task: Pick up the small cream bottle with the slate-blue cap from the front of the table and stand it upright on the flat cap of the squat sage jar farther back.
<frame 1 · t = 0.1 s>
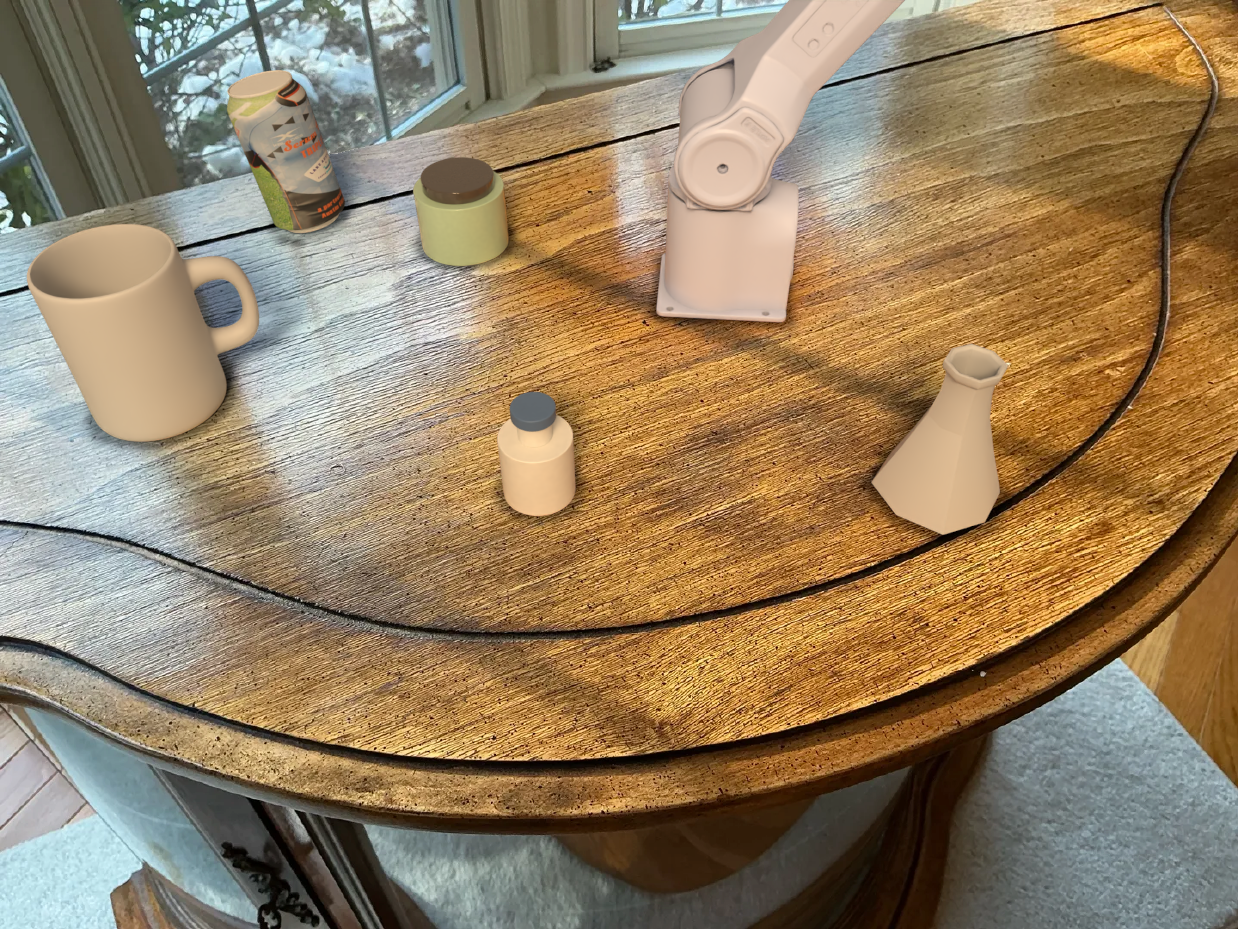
flask: (933, 492, 60), on the cabinet
beverage can: (305, 223, 82), on the cabinet
mug: (189, 394, 67), on the cabinet
sage jar: (465, 242, 80), on the cabinet
cream bottle: (539, 489, 60), on the cabinet
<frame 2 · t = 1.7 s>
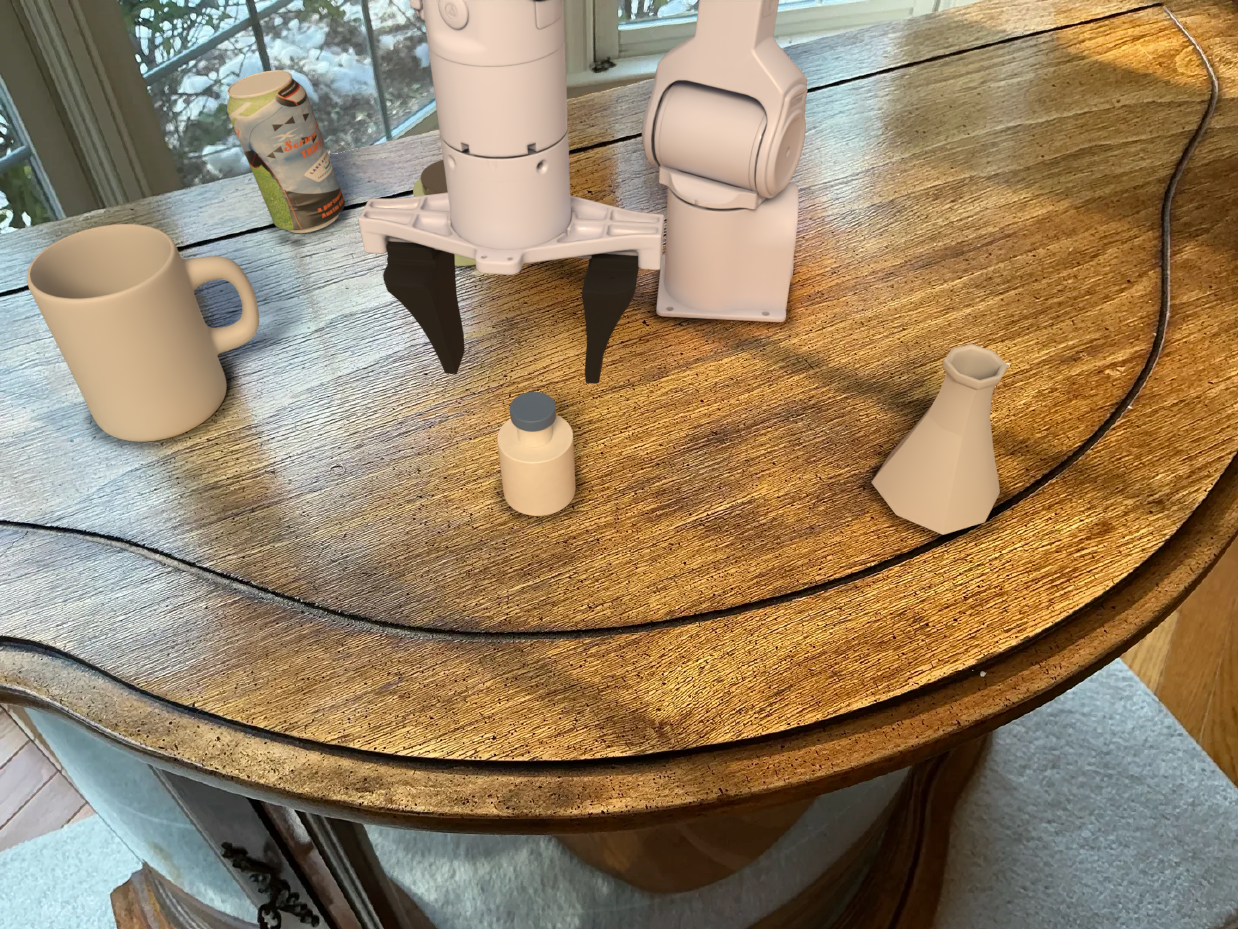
hand: (524, 367, 53), 10 cm above the cabinet, tool pointing down, fingers open, 7 cm apart
nothing on the cabinet moved.
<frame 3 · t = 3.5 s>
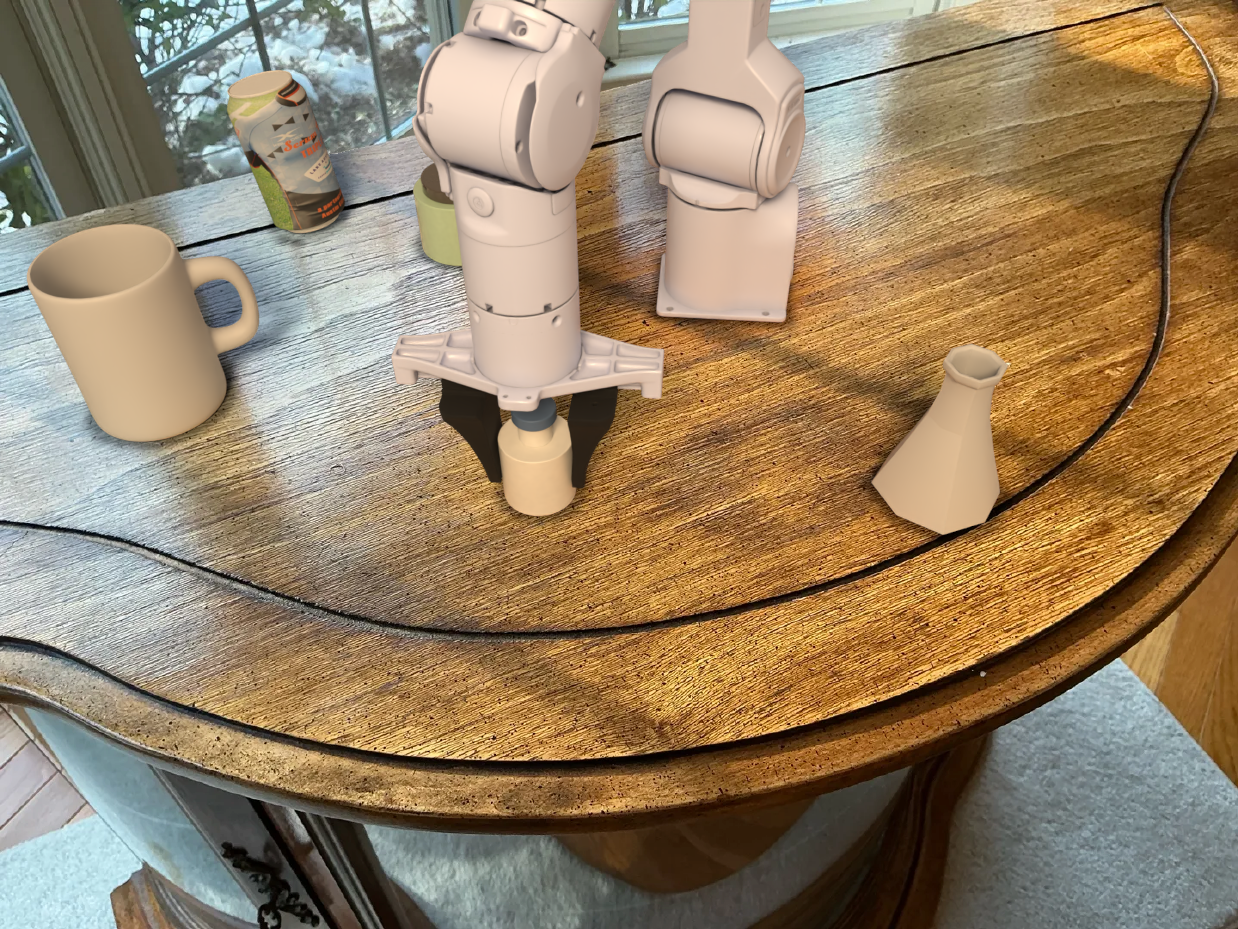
hand: (538, 473, 59), 1 cm above the cabinet, tool pointing down, fingers closed on cream bottle, 4 cm apart
cream bottle: (540, 489, 60), on the cabinet, touching gripper
everything else where it was.
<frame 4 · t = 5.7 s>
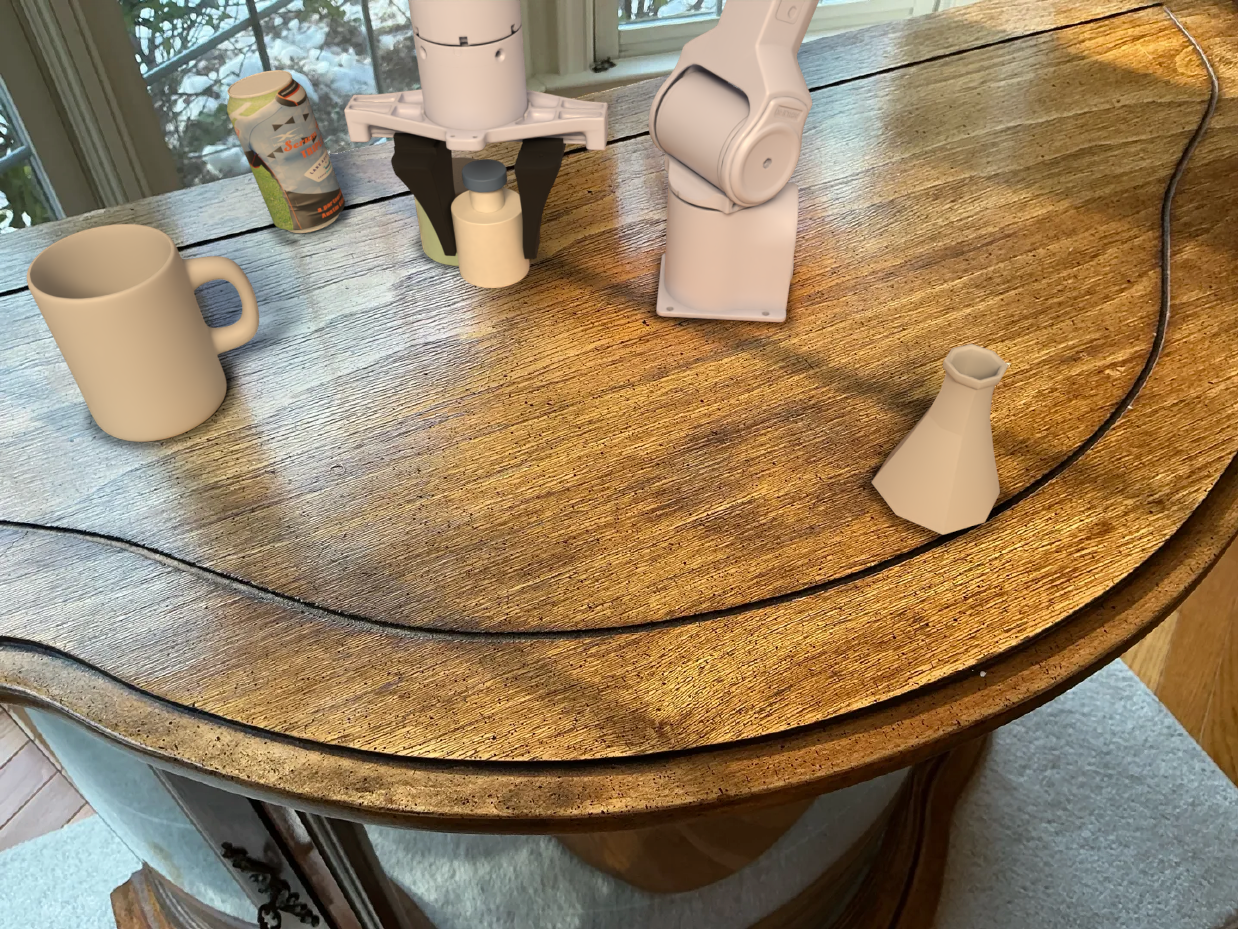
hand: (492, 248, 61), 10 cm above the cabinet, tool pointing down, fingers closed on cream bottle, 4 cm apart
cream bottle: (494, 268, 62), point 8 cm above the cabinet, touching gripper
everything else where it was.
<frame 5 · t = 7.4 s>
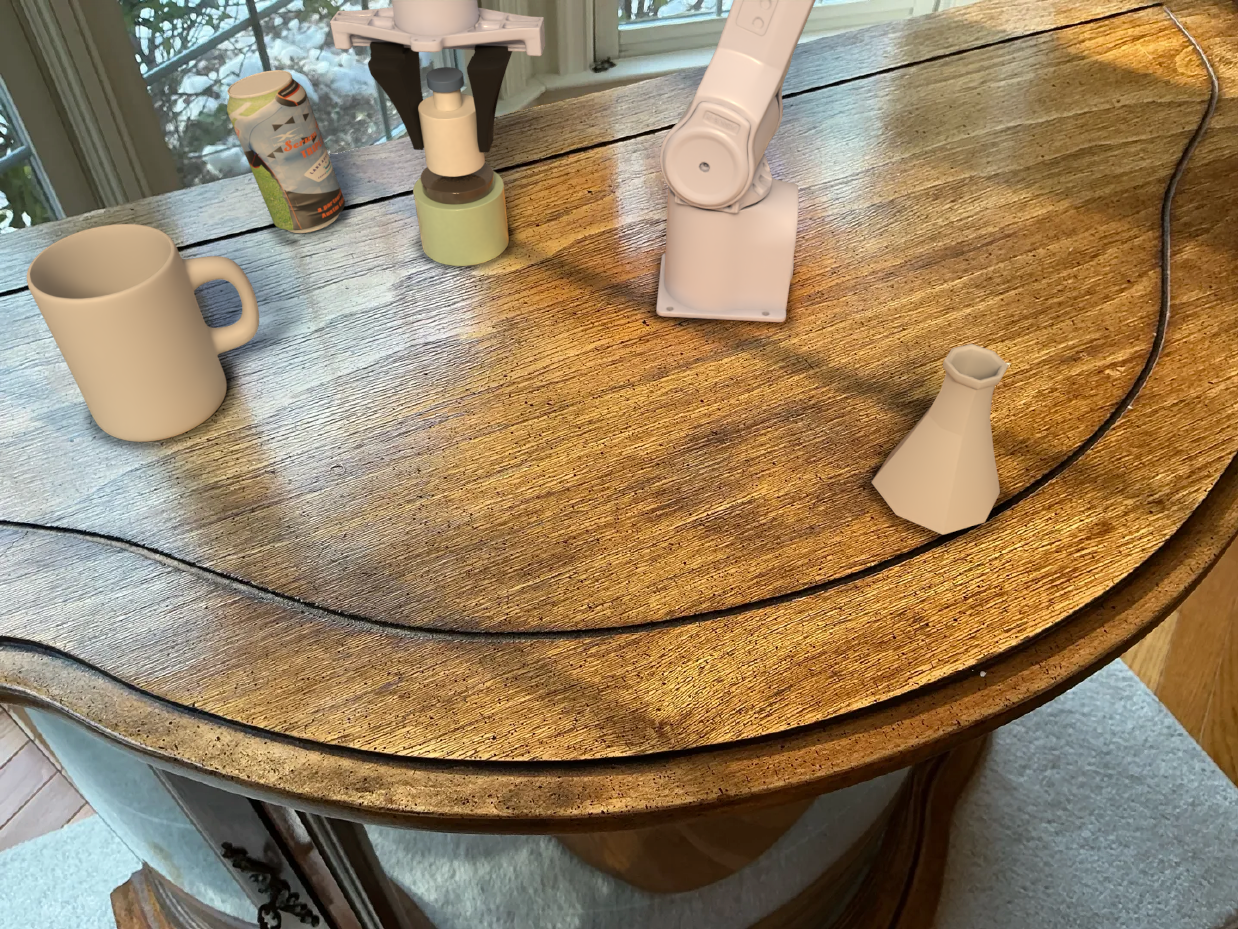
hand: (453, 144, 74), 8 cm above the cabinet, tool pointing down, fingers closed on cream bottle, 4 cm apart
cream bottle: (455, 162, 75), point 7 cm above the cabinet, touching gripper
everything else where it was.
when the fingers open (7 cm above the cabinet, at t = 8.2 s): cream bottle stays where it is, resting on sage jar.
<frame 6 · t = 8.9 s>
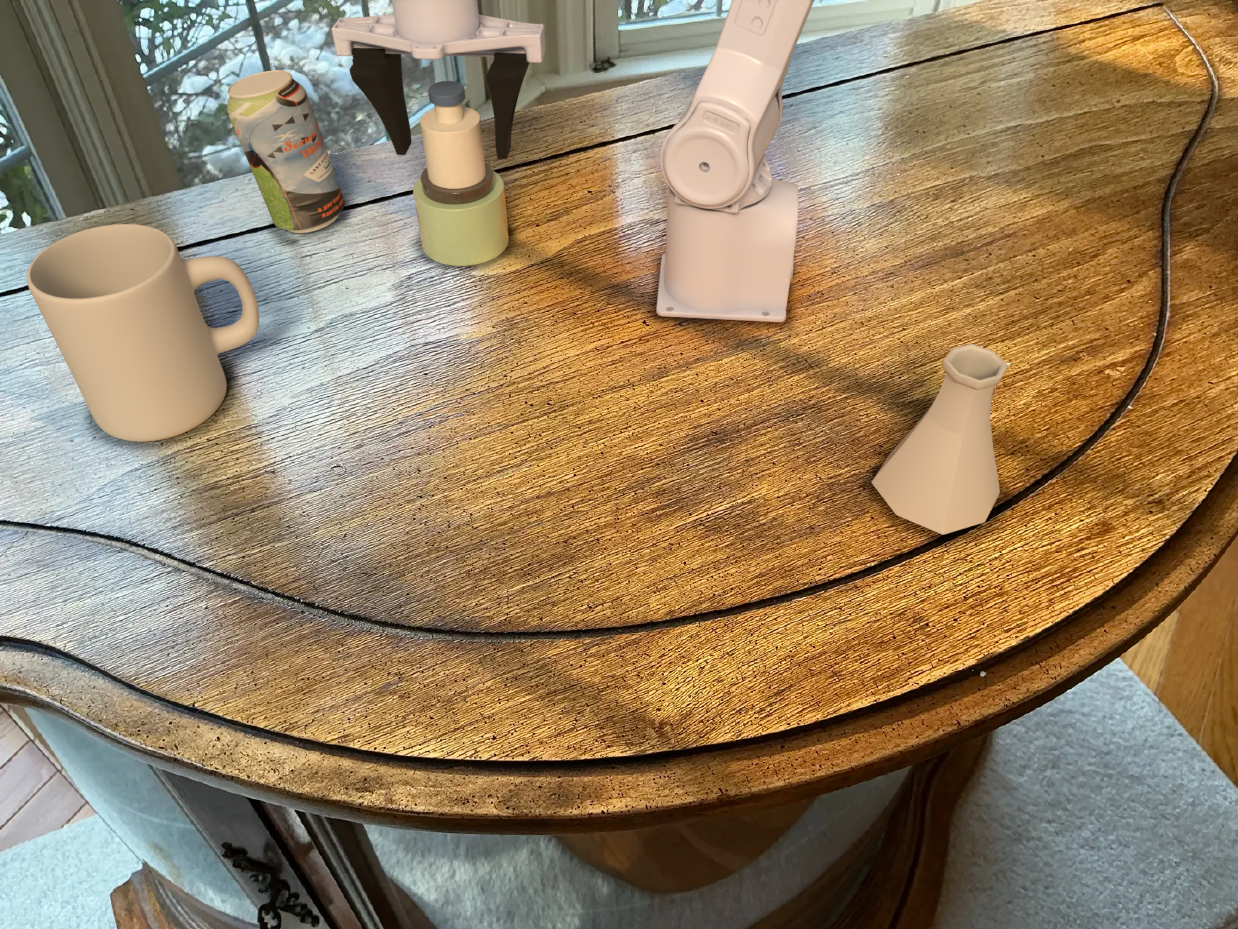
hand: (454, 150, 74), 8 cm above the cabinet, tool pointing down, fingers open, 7 cm apart
sage jar: (465, 242, 80), on the cabinet, touching cream bottle
cream bottle: (457, 174, 76), point 6 cm above the cabinet, touching sage jar
everything else where it was.
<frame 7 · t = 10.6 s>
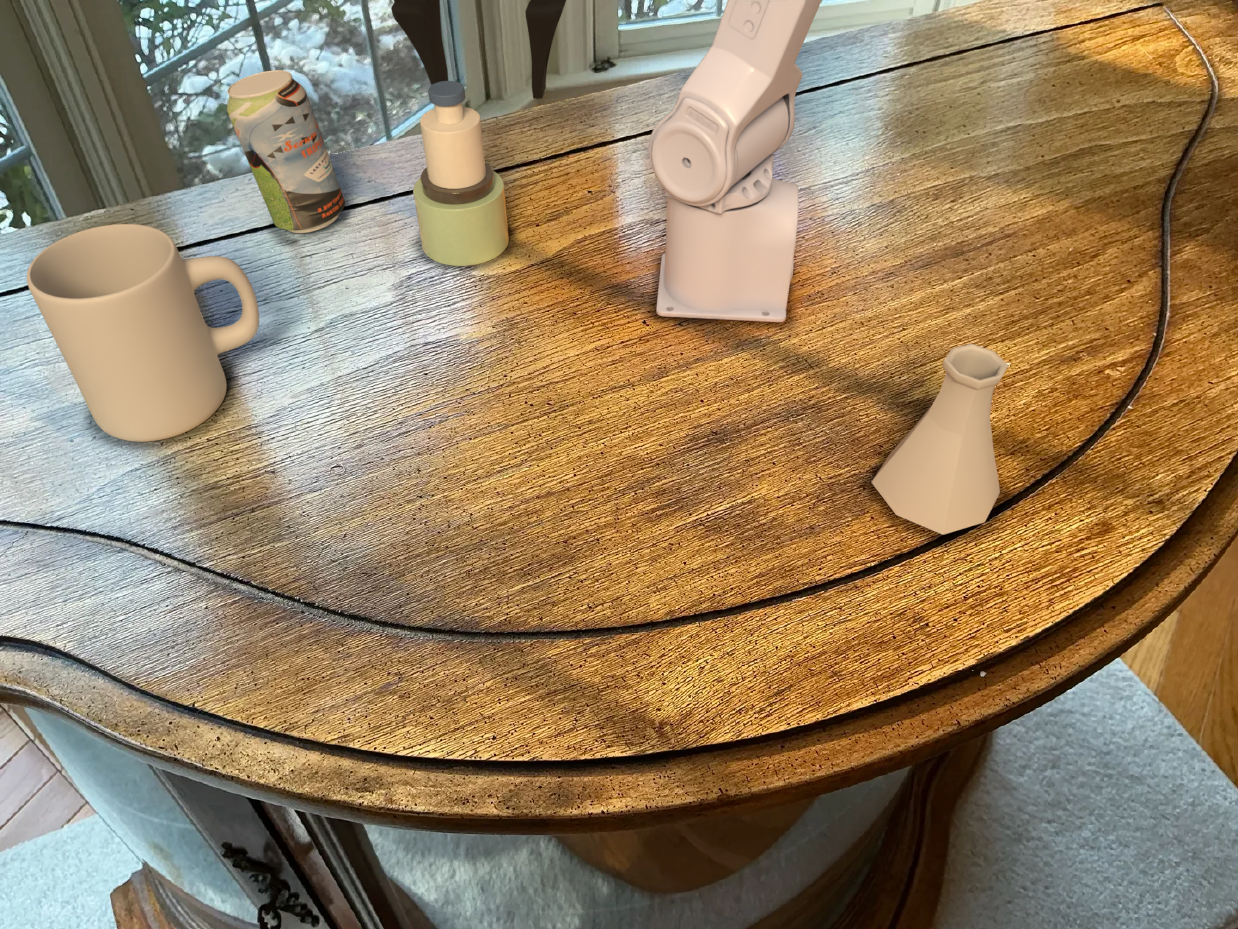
hand: (490, 91, 76), 10 cm above the cabinet, tool pointing down, fingers open, 7 cm apart
nothing on the cabinet moved.
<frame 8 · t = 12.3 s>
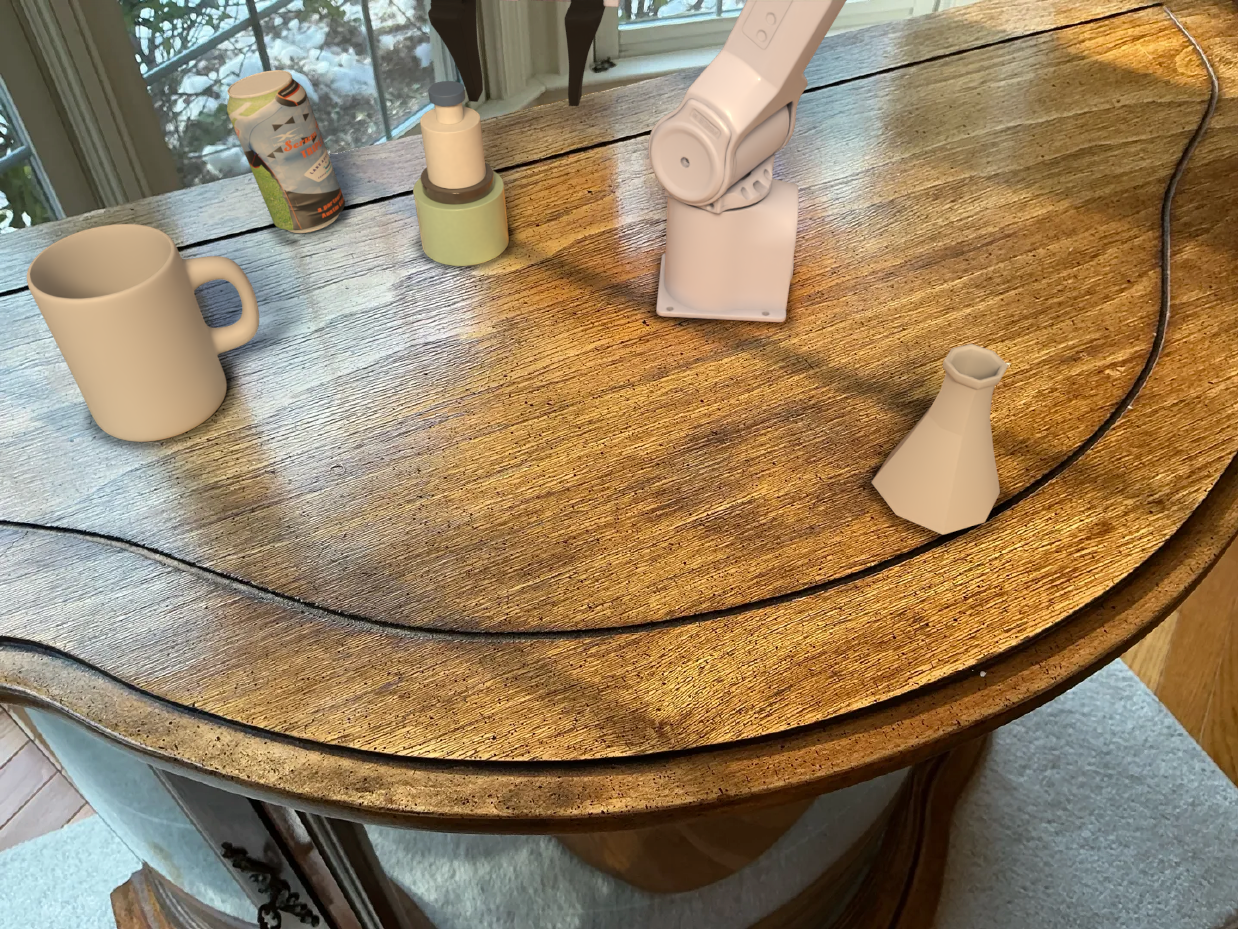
hand: (525, 98, 75), 10 cm above the cabinet, tool pointing down, fingers open, 7 cm apart
nothing on the cabinet moved.
at the end: cream bottle 0.0 cm off-centre on the sage jar, point 6.0 cm above the sage jar's base; cream bottle tilted 0°; the gripper is holding nothing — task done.
